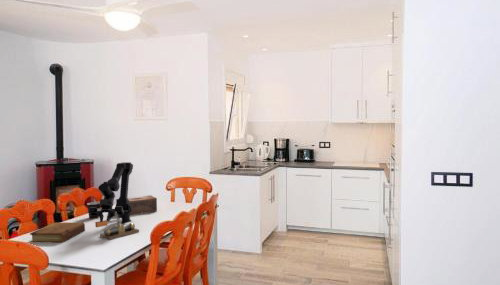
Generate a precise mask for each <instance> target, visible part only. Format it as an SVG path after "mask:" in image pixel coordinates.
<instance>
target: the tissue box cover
mask: <svg viewBox="0 0 500 285" xmlns="http://www.w3.org/2000/svg"><path fill="white" fill-rule="evenodd" d="M127 198H128V200H129V201H130V206H131V207H132V212H130V216H131V215H138V214H145V213H146V214H148V213H154V212H155V213H156V212H157V211H158V202H157V197H155V196H153V195H151V194H150V195H142V196H141V195H140V196H133V197H127ZM117 199H118V198H116V199H115V201H117Z"/></svg>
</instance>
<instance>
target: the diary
mask: <svg viewBox="0 0 500 285" xmlns="http://www.w3.org/2000/svg"><path fill="white" fill-rule="evenodd" d="M85 226H86V225H85V223H84V222H53V223H51V224H49V225H48V224H47V225H46V226H43V227H42V228H38V229H37V230H34V231H32V232H30V233H29V235H30V236H31V241H30V242H53V243H56V244H57V243H59V244H60V243H62V244H63V243H65V242H66V241H69V240H70V239H72V238H73V237H76V236H78V235H80V234H81V233H83V232H85V231H86V227H85Z"/></svg>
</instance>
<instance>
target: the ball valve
mask: <svg viewBox="0 0 500 285" xmlns="http://www.w3.org/2000/svg"><path fill="white" fill-rule="evenodd" d="M135 227H136V226H135V223H133V222H131V223H128V224H126V225H125V224H122V223H118V225H114V227H112V228H105V229H104V230H103V233H100V234H99V237H100V238H103V239H105V240H113V239H118V238H121V237H122V238H123V237H125V236H129V235H133V234H136V233H140V229H138V228H135Z"/></svg>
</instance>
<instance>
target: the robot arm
mask: <svg viewBox="0 0 500 285" xmlns="http://www.w3.org/2000/svg"><path fill="white" fill-rule="evenodd" d="M115 166H116V168H115V169H114V171H113V173H112V177H110V179H108V180H107V181H103V183H100V185H98V187H97V188H98V190H99V192H100V194H101V195H102V196H103V199H102V198H99V202H100V203H99V205H100V209H97V207H90V208H89V210H88V209H87V212H89V213H90V215H91V216H97V215H98V217H99V221H104V218H105V217H104V214H103V213H107V216H106V219H105V220H107V221H112V220H111V219H112V218H113V217H116V214H117V218H122V222H121V224H125V223H129V222H132V220H131V215H130V212H132V207H131V206H130V201H129V200H128V198H129V197H128V195H129V194H128V193H129V180H130V175H131V174H132V172H133V169H134V165H133V163H132V162H130V161H128V162H127V161H126V162H118V163H116V165H115ZM119 182H120V183H119ZM119 189H120V190H119ZM118 191H120V192H119V196H118V198H116V195H115V192H118ZM115 198H116V199H117V201H116V200H115ZM114 200H115V201H116V202H115V207H114V208H113V206H114ZM89 213H88V214H89Z"/></svg>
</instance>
